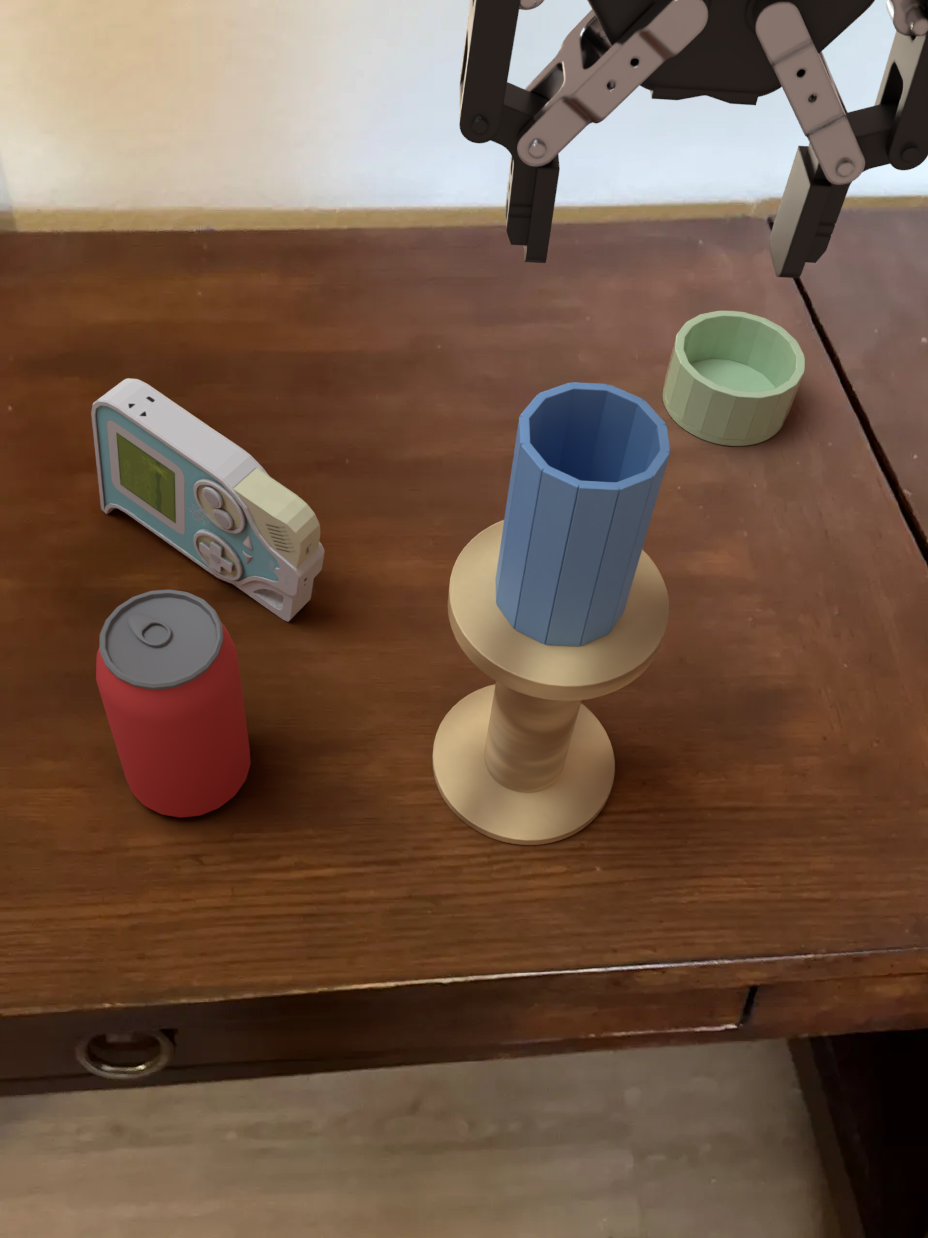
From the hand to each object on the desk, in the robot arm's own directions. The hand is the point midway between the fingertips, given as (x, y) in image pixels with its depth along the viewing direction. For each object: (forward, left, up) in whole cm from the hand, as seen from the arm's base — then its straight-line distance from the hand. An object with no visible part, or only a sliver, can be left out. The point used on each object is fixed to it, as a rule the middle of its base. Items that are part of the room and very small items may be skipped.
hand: (659, 256), depth 41 cm
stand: (+1, +1, -33) cm, 33 cm away
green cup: (+3, -32, -33) cm, 46 cm away
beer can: (+16, +11, -33) cm, 38 cm away
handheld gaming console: (+24, -1, -33) cm, 41 cm away
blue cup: (+1, +1, -18) cm, 18 cm away
